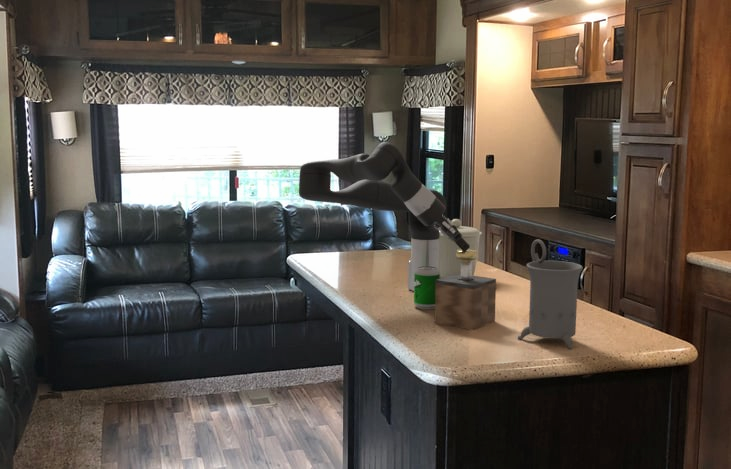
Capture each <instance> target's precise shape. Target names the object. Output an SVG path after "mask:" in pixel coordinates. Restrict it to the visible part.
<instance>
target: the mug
mask: <svg viewBox="0 0 731 469" xmlns="http://www.w3.org/2000/svg"><path fill="white" fill-rule="evenodd" d="M537 244H540V245H539V246H540V247H541V250H542V255H541V258H540V257H539V254H538V252H536V250H535V249H536V246H537ZM530 254H531V259H532V261H531V262H528V263H526V268H527V270H528V272H529V273H528V274H529V280H530V282H529V283H530V284H529V286H530V287H529V288H530V289H529V317H528V318H529V319H528V326H526V327H524V328H523V329H522V330H521V333H520V336H519V335H518V336H517V339H518V340H523V339H524V338H525V337H526V336H528V335H533V336H536V337H540V338H546V339H547V338H548V339H562V341H563V342H564V343H565V345H566V346H567V348H568V349H569V350H573V348H574V347H573V346H572V337H574V336H576V330H577V329H576V328H577V307H578V306H577V305H578V304H577V303H578V284H579V279H580V274H581V272H582V270H583V269H584V267H583V265H581V264H579V263H576V262H572V261H570V262H569V261H563V260H562V261H561V260H546V258H547V247H546V244H545V243H544V241H543V240H541V239H538V238H537V239H535V240H533V242H532V243H531V247H530Z"/></svg>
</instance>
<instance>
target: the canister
mask: <svg viewBox="0 0 731 469" xmlns="http://www.w3.org/2000/svg"><path fill="white" fill-rule="evenodd" d="M451 222H452V224H453V225H455V226H456V228H457V229H458V231H459V232H460V233H461V234H462V238H463V239H464V240H465V241H466V242H467V243H468V244H469V246H470V247H469V248H468V249H470V250H476V251H477V255H478V253H479V244H480V238H481V235H483V232H482V231H479V229H478V228H475V227H472V226H464V225H462V221H461V220H460V219H459V218H453V219H452V220H451ZM439 232H440V231H439ZM457 250H461V249H460V248H459V247H458V246H457V245H456V244H455V242H452V241H451V239H448V237H445V236H444V235H443V234H442V233H441V232H440V242H439V271H440V279H441V278H445V277H448V276H452V275H455V274H461V259H457V258H456V251H457ZM477 259H478V258H477ZM477 259H475V260H472V276H475V275H474V274H475V273H476V266H477V261H478V260H477Z"/></svg>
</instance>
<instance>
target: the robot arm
mask: <svg viewBox="0 0 731 469" xmlns="http://www.w3.org/2000/svg"><path fill="white" fill-rule="evenodd" d="M331 173H332V174H334V175H335V176H336V177H337V178H339V180H342V181H343V182H347V183H353V184H351V185H349V186H347V187H345V188H343V189H340V190H337V191H333V190H331V185H332V184H331V182H332V181H331V180H332V179H331V178H332V174H331ZM390 173H392V175H393V178H392V181H391V182H389V181H385V179H386V178H387V177H388V176H390ZM298 195H299V197H300V198H301V199H304V200H306V201H311V202H320V203H329V204H330V203H331V204H341V205H347V206H348V205H349V206H353V207H358V208H365V209H368V210H369V209H370V210H376V211H384V212H385V211H387V212H407V213H408V228H409V231H410V234H411V235H410V236H411V238H410V242H411V244H410V247H411V249H410V251H411V252H410V260H408V266H407V268H408V269H407V272H408V273H407V275H408V276H407V290H411V291H412V292H414V271H415V270H416V269H417V267H420V266H433V267H437V269H438V270H439V242H440V232H441V233H442V234H443V235H444V236H445V237H448V239H451V241H452V242H455V244H456V245H457V246H458V247H459V248H460V249H461V250H462V251H467V249H468V248H469V247H470V246H469V244H468V243H467V242H466V241H465V240H464V239H463V238H462V234H461V233H460V232H459V231H458V229H457V228H456V226H455V225H453V224H452V222H451V221H452V220H450V218H449V217H446V216H445V215H444V213H445V212H446V208H447V201H446V198H445V197H444V195H443V194H442V193H441V192H440V191H437V190H435V189H431V188H428V187H427V186H425V185H424V184H423V183H422V182H421V181H420V180H419V179H418V177H417V176H415V174H413V172H412V169H411V168H410V167H409V165H408V164H407V161H406V160H405V157H404V156H403V154H402V152H401V151H400V149H399V148H398V147H397V146H396V145H395V144H393V143H391V142H388V141H383V142H381V143H379V144H378V145H377V146H376V147H375V148H374V150H373V151H372V152H371V153H370V154H368V153H359V154H355V155H352V156H350V157H345V158H337V159H326V160H325V159H324V160H315V161H310V162H309V161H308V162H306V163H303V164H302V165H301V166H300V169H299V178H298ZM439 231H440V232H439Z"/></svg>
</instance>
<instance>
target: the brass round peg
mask: <svg viewBox="0 0 731 469" xmlns="http://www.w3.org/2000/svg"><path fill="white" fill-rule="evenodd" d="M456 258H457V259H461V280H463V281H471V280H472V260H475V259H478V254H477V251H476V250H470V249H467V251H462V250H457V251H456Z"/></svg>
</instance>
